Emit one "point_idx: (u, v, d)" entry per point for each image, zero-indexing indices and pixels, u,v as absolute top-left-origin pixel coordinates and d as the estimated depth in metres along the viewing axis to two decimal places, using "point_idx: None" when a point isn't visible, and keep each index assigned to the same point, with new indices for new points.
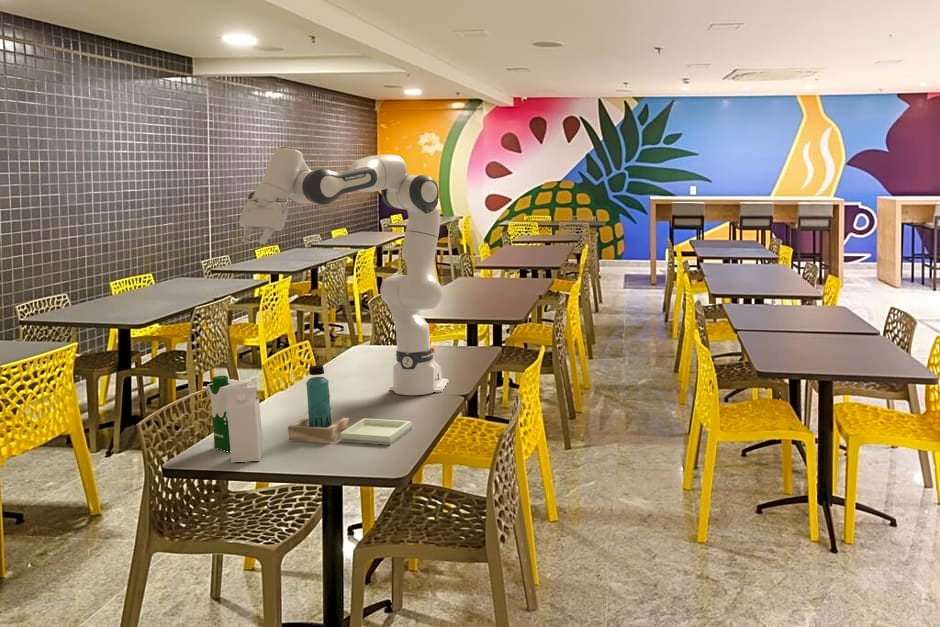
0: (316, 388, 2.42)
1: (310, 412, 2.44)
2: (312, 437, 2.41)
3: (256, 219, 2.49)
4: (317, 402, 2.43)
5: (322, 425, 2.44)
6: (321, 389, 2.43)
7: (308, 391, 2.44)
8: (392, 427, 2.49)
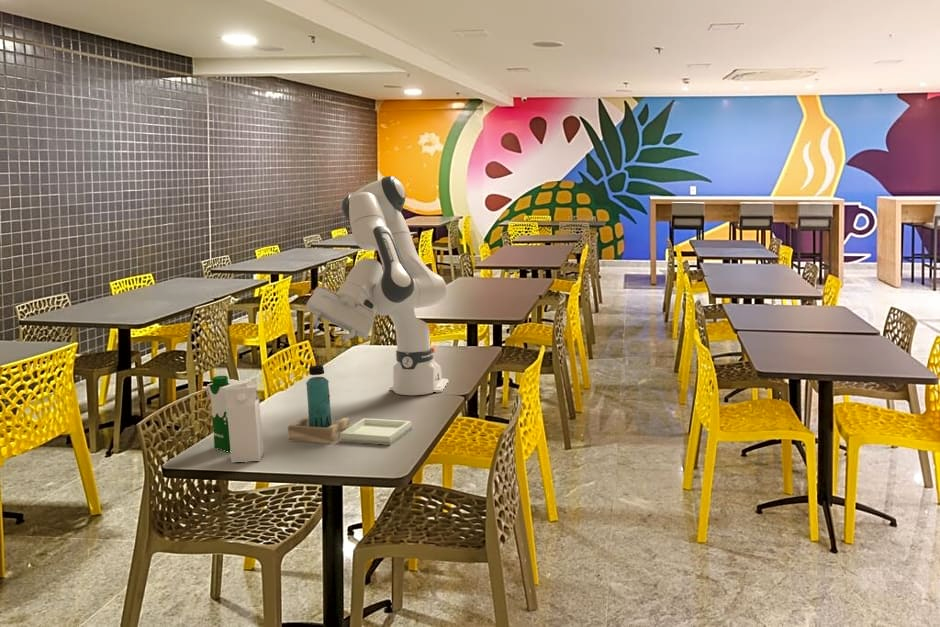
0: (316, 388, 2.42)
1: (310, 412, 2.44)
2: (312, 437, 2.41)
3: None
4: (317, 402, 2.43)
5: (322, 425, 2.44)
6: (321, 389, 2.43)
7: (308, 391, 2.44)
8: (392, 427, 2.49)
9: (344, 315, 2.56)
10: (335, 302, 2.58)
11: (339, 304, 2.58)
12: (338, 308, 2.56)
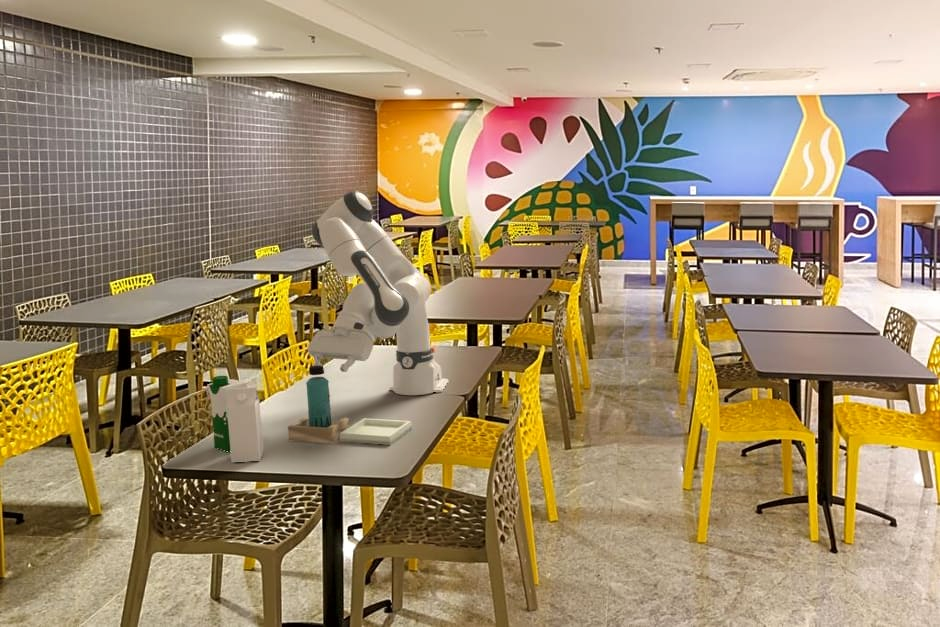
0: (316, 388, 2.42)
1: (310, 412, 2.44)
2: (312, 437, 2.41)
3: None
4: (317, 402, 2.43)
5: (322, 425, 2.44)
6: (321, 389, 2.43)
7: (308, 391, 2.44)
8: (392, 427, 2.49)
9: (339, 346, 2.53)
10: (331, 338, 2.56)
11: (335, 338, 2.56)
12: (333, 342, 2.55)
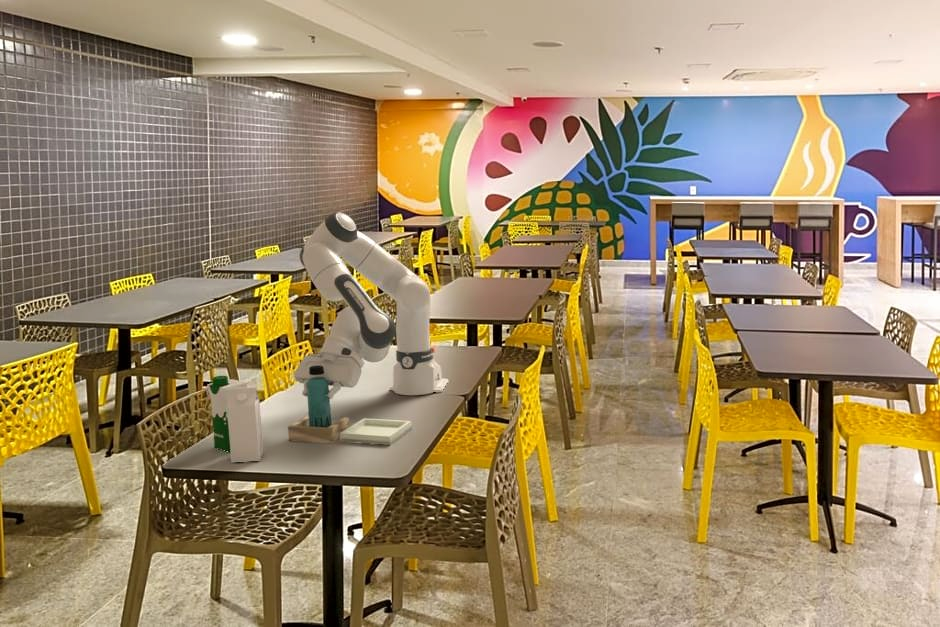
0: (316, 388, 2.42)
1: (310, 412, 2.44)
2: (312, 437, 2.41)
3: None
4: (317, 402, 2.43)
5: (322, 425, 2.44)
6: (321, 389, 2.43)
7: (308, 391, 2.44)
8: (392, 427, 2.49)
9: (326, 372, 2.47)
10: (319, 363, 2.50)
11: (322, 364, 2.50)
12: None
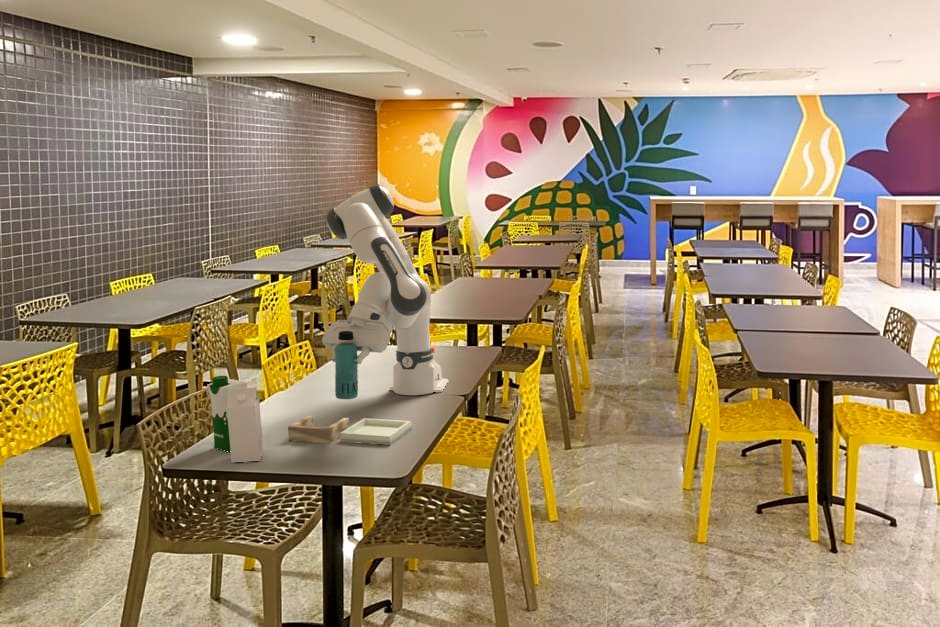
0: (345, 353, 2.40)
1: (337, 377, 2.42)
2: (312, 437, 2.41)
3: None
4: (345, 368, 2.40)
5: (348, 391, 2.41)
6: (350, 355, 2.40)
7: (336, 356, 2.41)
8: (392, 427, 2.49)
9: (355, 337, 2.44)
10: (347, 329, 2.48)
11: (350, 329, 2.47)
12: None
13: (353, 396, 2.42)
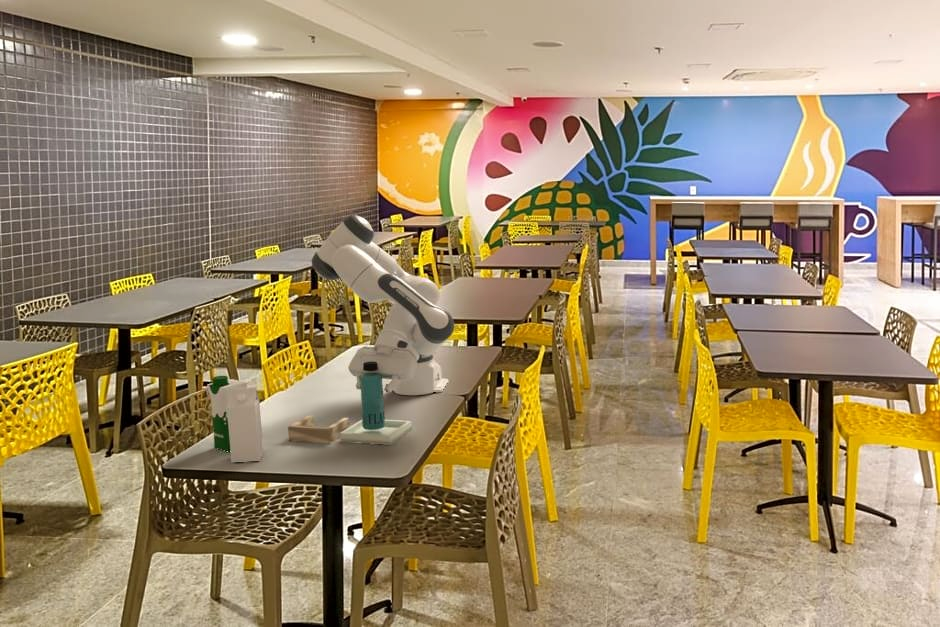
0: (370, 384, 2.40)
1: (364, 408, 2.42)
2: (312, 437, 2.41)
3: None
4: (371, 398, 2.40)
5: (376, 422, 2.42)
6: (375, 385, 2.40)
7: (362, 387, 2.41)
8: (392, 427, 2.49)
9: (382, 365, 2.44)
10: (373, 356, 2.48)
11: (377, 357, 2.47)
12: (376, 361, 2.46)
13: (380, 426, 2.43)
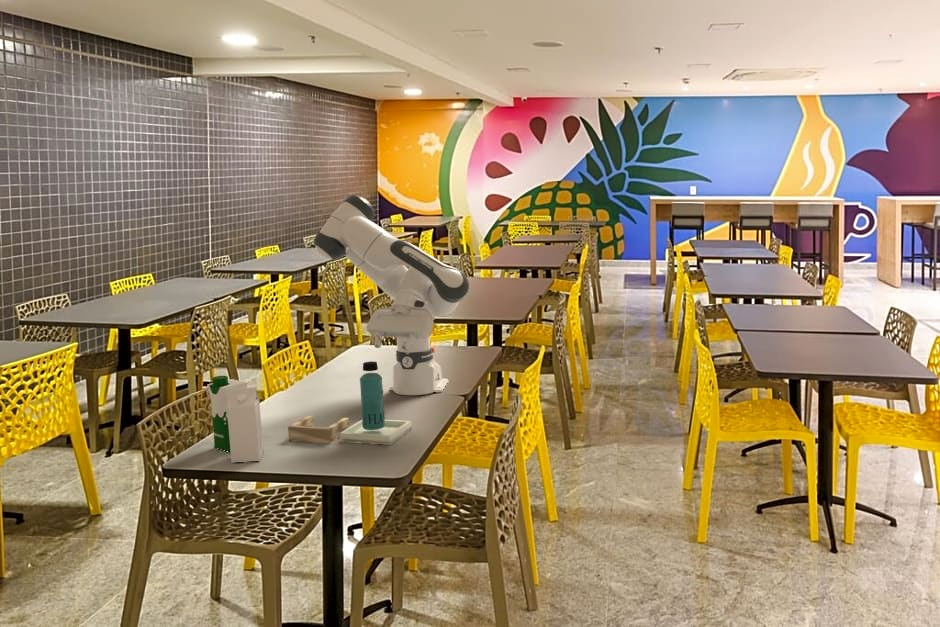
0: (370, 384, 2.40)
1: (363, 408, 2.42)
2: (312, 437, 2.41)
3: None
4: (371, 398, 2.40)
5: (376, 422, 2.42)
6: (375, 386, 2.40)
7: (362, 387, 2.41)
8: (392, 427, 2.49)
9: (400, 324, 2.51)
10: (391, 316, 2.55)
11: (395, 316, 2.54)
12: (393, 320, 2.53)
13: (380, 426, 2.43)
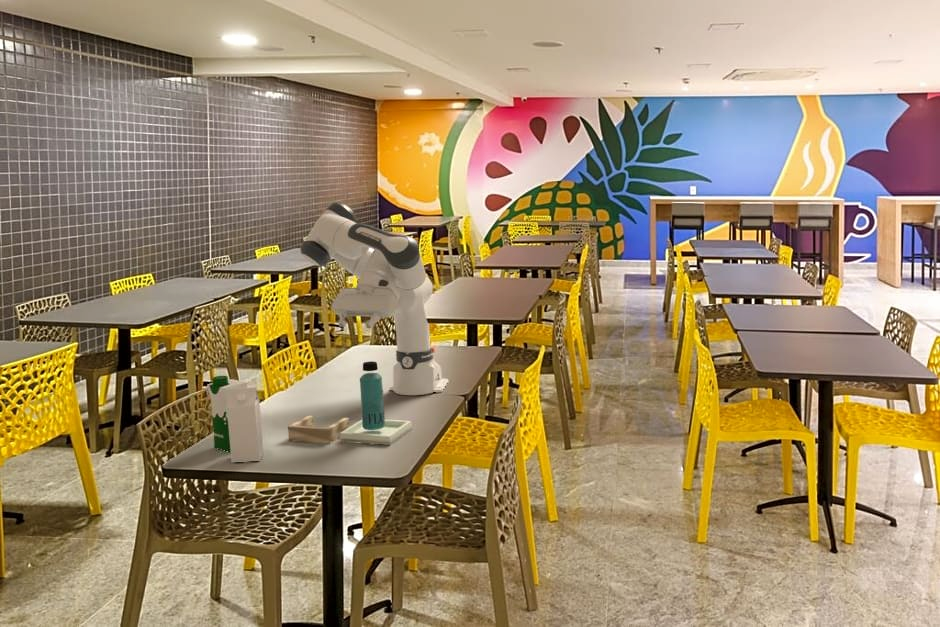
0: (370, 384, 2.40)
1: (363, 408, 2.42)
2: (312, 437, 2.41)
3: None
4: (371, 398, 2.40)
5: (376, 422, 2.42)
6: (375, 386, 2.40)
7: (362, 387, 2.41)
8: (392, 427, 2.49)
9: (364, 303, 2.53)
10: (356, 295, 2.56)
11: (359, 296, 2.56)
12: (358, 300, 2.55)
13: (380, 426, 2.43)
